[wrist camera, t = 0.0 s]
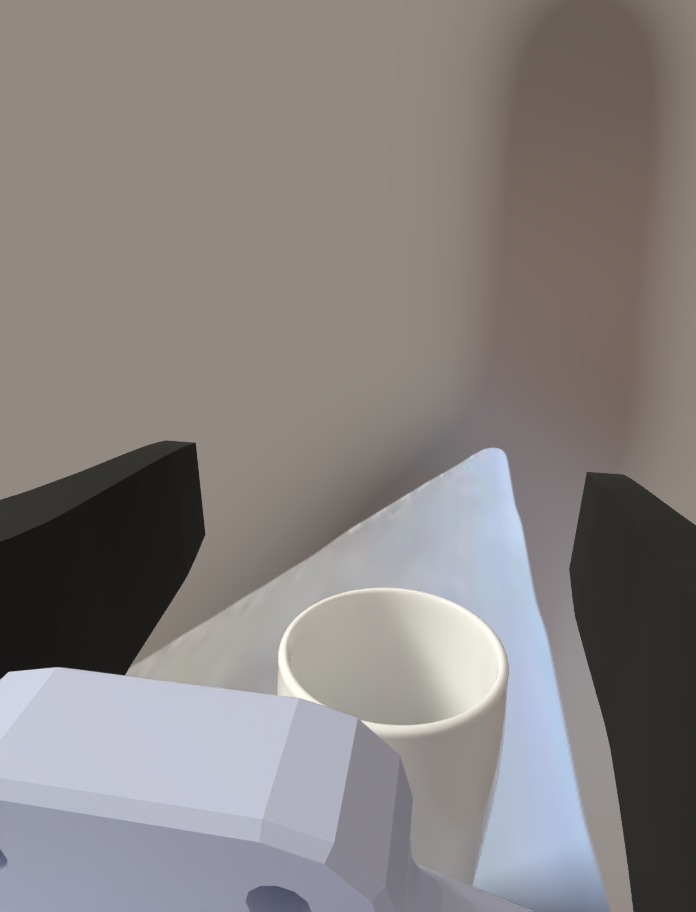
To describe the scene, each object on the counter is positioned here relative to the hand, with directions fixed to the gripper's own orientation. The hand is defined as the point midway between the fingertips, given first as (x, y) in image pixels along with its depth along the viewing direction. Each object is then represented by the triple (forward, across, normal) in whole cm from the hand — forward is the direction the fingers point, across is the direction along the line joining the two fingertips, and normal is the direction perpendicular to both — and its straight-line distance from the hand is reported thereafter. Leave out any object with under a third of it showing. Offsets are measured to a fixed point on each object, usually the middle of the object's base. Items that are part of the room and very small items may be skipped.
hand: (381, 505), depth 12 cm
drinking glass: (+3, 0, +22) cm, 22 cm away
